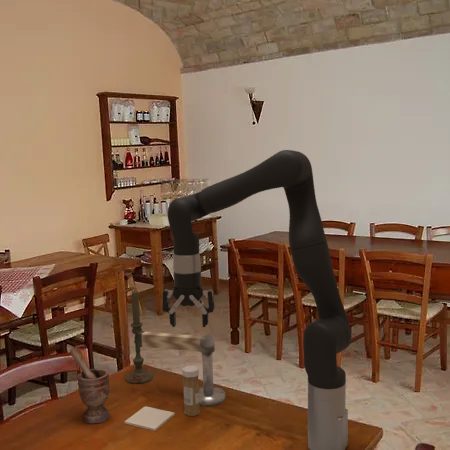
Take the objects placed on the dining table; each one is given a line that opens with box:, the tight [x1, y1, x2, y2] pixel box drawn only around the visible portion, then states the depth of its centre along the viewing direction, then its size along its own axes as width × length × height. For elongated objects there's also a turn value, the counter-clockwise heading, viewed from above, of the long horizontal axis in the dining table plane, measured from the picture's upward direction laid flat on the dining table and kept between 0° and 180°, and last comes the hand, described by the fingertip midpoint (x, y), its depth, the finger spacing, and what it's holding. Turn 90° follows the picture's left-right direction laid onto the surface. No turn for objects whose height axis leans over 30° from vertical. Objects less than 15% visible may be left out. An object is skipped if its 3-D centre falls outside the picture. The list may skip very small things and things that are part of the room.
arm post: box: [199, 353, 226, 407], centre depth 172 cm, size 10×10×14 cm
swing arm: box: [138, 330, 216, 354], centre depth 173 cm, size 24×4×4 cm, turn 74°
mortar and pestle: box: [69, 346, 110, 424], centre depth 161 cm, size 12×9×20 cm
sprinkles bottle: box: [182, 365, 201, 417], centre depth 163 cm, size 5×5×13 cm
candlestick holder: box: [124, 289, 154, 385], centre depth 186 cm, size 9×9×30 cm
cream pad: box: [124, 405, 176, 432], centre depth 161 cm, size 10×10×1 cm
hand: (189, 326), depth 160 cm, fingers open, 8 cm apart
